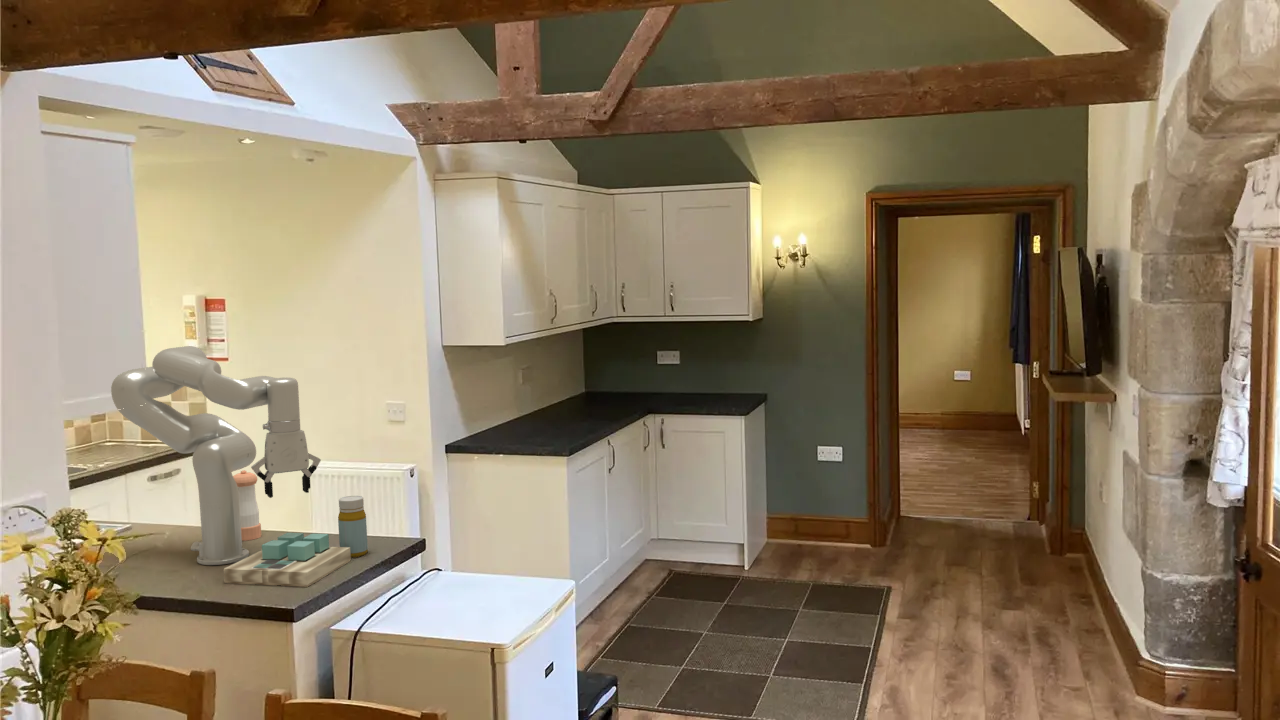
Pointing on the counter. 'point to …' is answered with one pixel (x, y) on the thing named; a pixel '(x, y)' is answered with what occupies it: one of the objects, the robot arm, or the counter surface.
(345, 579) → the counter surface
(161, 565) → the counter surface
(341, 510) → the bottle
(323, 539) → the button
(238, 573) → the button board
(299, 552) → the button
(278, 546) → the button
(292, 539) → the button
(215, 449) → the robot arm
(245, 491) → the salt shaker
